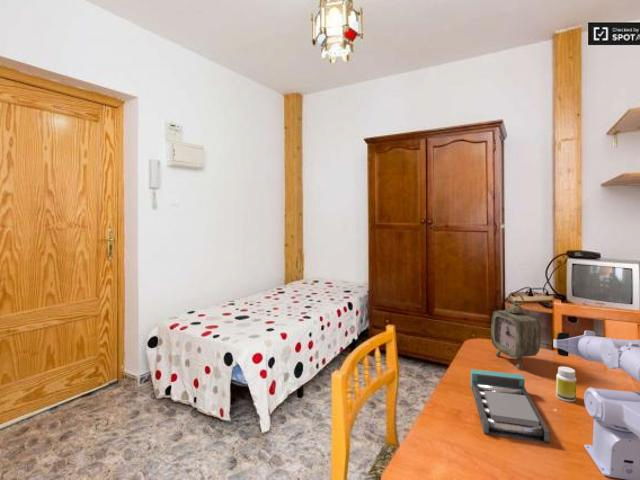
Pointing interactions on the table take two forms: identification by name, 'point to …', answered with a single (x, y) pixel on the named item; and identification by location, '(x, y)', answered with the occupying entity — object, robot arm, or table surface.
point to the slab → (510, 408)
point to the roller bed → (504, 434)
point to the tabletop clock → (515, 332)
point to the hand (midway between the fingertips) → (572, 344)
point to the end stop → (497, 378)
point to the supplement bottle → (566, 384)
